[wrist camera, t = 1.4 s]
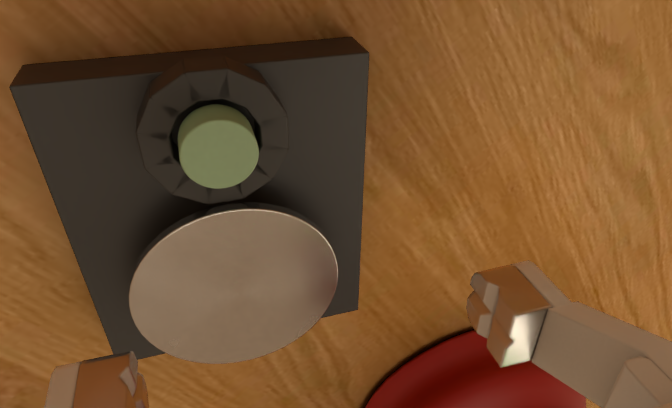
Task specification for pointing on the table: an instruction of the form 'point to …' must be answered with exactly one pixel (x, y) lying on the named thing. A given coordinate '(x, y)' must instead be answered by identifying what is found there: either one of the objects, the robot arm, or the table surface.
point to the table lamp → (471, 381)
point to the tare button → (217, 146)
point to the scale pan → (232, 283)
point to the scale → (163, 154)
